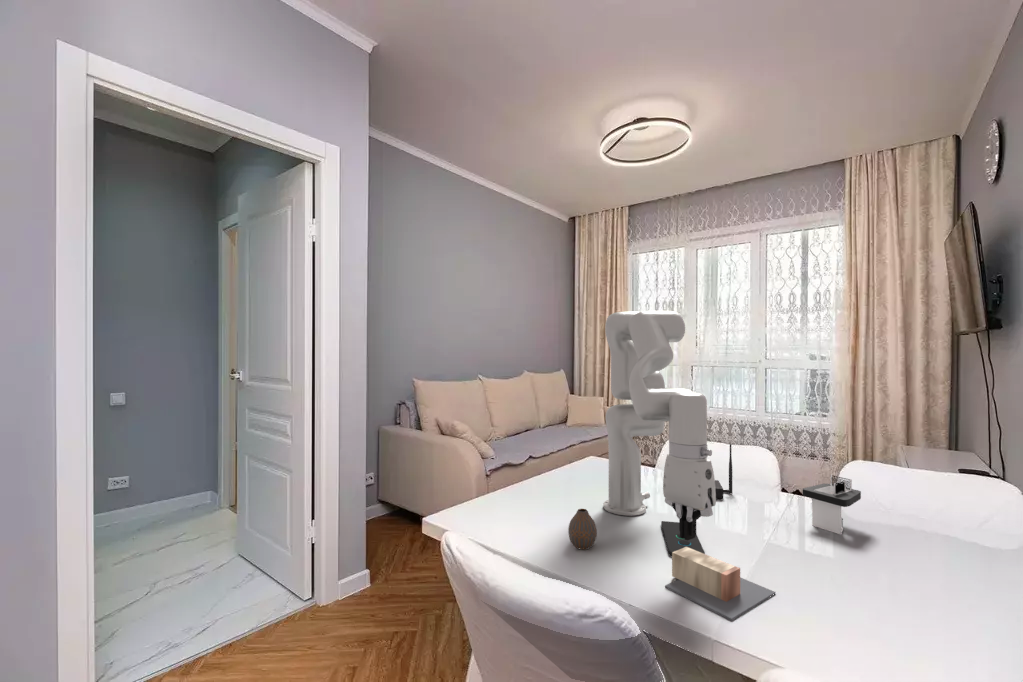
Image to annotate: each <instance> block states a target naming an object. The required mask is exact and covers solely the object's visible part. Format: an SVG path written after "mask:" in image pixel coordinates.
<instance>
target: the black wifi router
mask: <svg viewBox="0 0 1023 682" xmlns="http://www.w3.org/2000/svg"><path fill="white" fill-rule="evenodd" d="M715 490H716V498H717V499H716V500H721V499H723V500H724V493H725V494H730V493H732V494H733V459H732V443H729V461H728V489H726V488H723V486H722V485H721V483H720V480H718V479H715Z"/></svg>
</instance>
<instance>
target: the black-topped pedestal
mask: <svg viewBox="0 0 1023 682" xmlns="http://www.w3.org/2000/svg"><path fill="white" fill-rule="evenodd" d="M852 482H853V480H852V479H851V478H846V477H841V476H837V475H833V474H830V483H820V484H816V485H812V486H807V487H804V488H802V497H807V498H809V499H811V510H812V513H811V514H812V515H811V517H812V519H811V520H812V522H811V523H812V524H811V525H812V526H813V527H816V528H820V529H822V530H825V531H829V532H832V533H834V534H838V535H843V531H844V526H843V521H844V518H843V517H842V507H843V508H847V507H848V508H849V507H851V506H852V505H854V504H855V503H856V502H858V501H861V498H862V495H861V494H862V491H861V490H859V489H853V484H852Z"/></svg>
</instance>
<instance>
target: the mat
mask: <svg viewBox="0 0 1023 682" xmlns="http://www.w3.org/2000/svg"><path fill="white" fill-rule="evenodd" d="M664 588H666V589H668V590H669V591H671V592H674V593H675V594H677V595H679V596H681V597H683V598H685V599H687V600H690V601H691V602H693V603H696V604H697V605H699V606H701V607H703V608H705V609H707V610H710V611H711V612H713V613H715V614H717V615H719V616H720V617H723V618H725V619H727V620H729V621H731V622H733V621H734V620H735V619H737V618H739V617H740V616H743V614H746V613H747V612H748V611H750V610H752V609H754V608H755V607H757V606H758V605H760V604H761V603H763V602H765V601H766V599H767V600H768V599H770V598H771V597H770V596H772V595H773V594H775V593H776V591H775V590H772V589H769V588H766V587H764V586H762V585H759V584H757V583H755V582H753V581H750V580H748V579H745V578H743V577H741V576H740V594H739V595H738V596H736V597H734V598H732V599H730V600H729V601H727V602H726V601H724V600H721V599H719V598H717V597H715V596H713V595H711V594H709V593H707V592H705V591H702V590H700V589H698V588H696V587H694V586H692V585H690V584H688V583H685V582H683V581H681V580H679V579H676V580H675V581H674V580H673V581H671V582H670V583H667V584H665V586H664ZM775 595H776V594H775ZM773 596H774V595H773ZM773 596H772V597H773ZM769 597H770V598H769Z"/></svg>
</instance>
